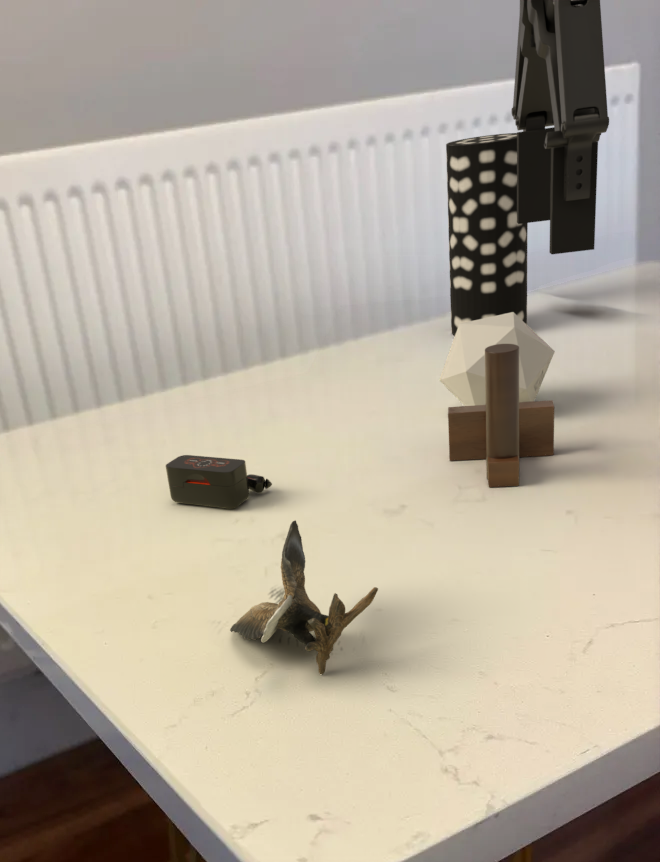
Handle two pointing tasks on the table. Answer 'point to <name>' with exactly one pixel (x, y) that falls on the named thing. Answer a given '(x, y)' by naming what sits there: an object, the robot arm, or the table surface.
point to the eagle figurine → (300, 608)
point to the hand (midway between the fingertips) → (552, 235)
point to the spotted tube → (485, 230)
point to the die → (469, 357)
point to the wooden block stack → (501, 422)
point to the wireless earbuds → (212, 481)
